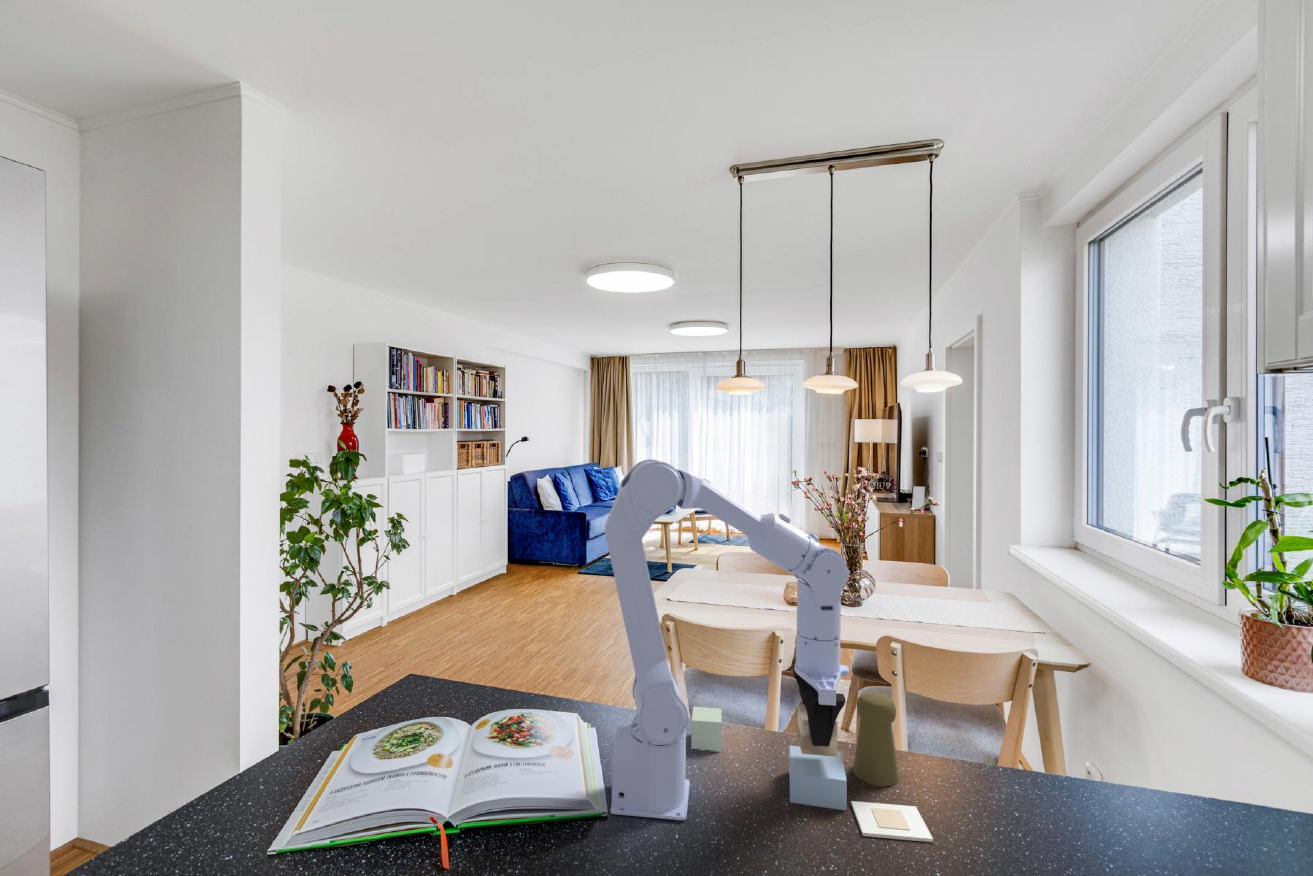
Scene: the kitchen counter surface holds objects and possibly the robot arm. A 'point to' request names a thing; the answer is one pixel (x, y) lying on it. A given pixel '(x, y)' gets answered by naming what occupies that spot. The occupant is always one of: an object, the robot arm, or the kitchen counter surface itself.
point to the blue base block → (817, 780)
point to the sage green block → (706, 728)
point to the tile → (891, 821)
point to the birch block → (805, 737)
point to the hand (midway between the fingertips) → (817, 734)
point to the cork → (876, 741)
